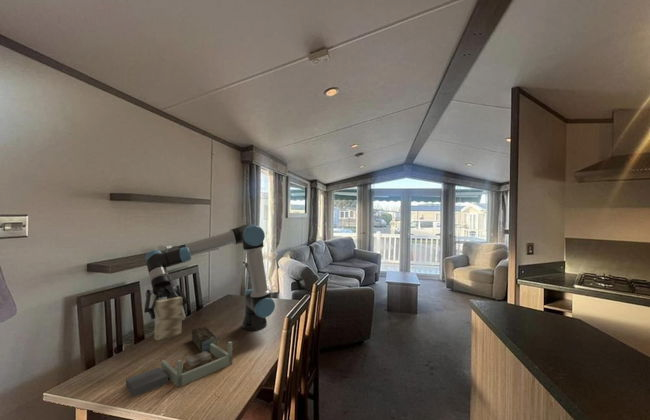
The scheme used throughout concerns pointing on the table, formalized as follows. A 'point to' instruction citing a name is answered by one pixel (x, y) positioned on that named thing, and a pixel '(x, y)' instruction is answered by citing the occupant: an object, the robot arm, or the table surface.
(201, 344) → the beverage carton
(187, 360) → the offcut stack
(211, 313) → the table surface
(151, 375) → the rubber block
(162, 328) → the birch block
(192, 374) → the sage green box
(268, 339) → the table surface
